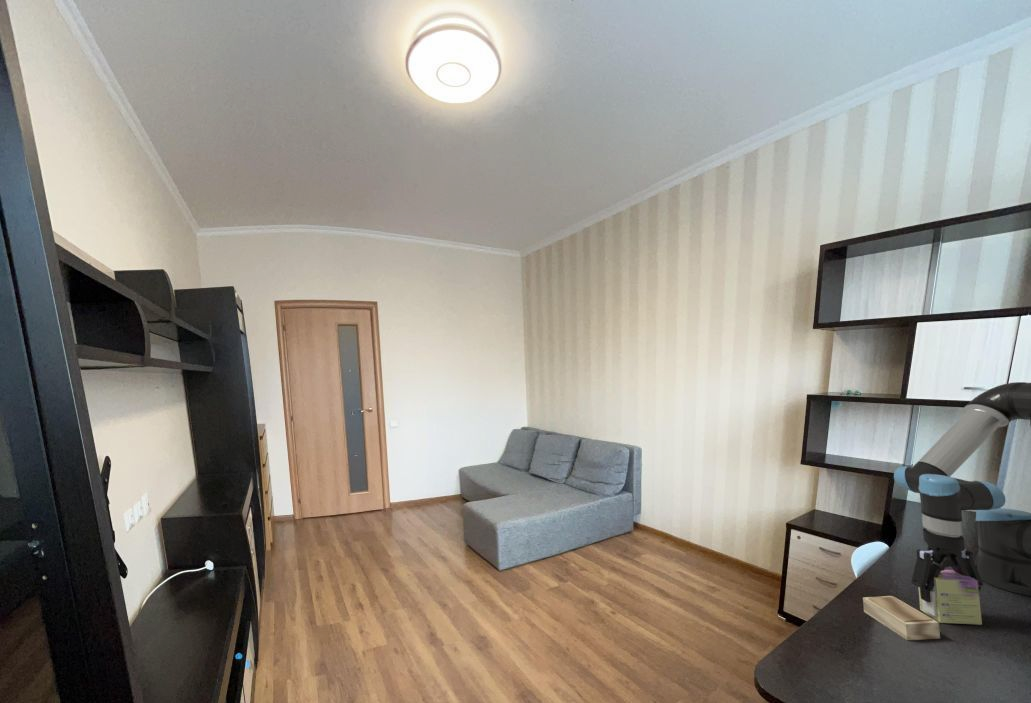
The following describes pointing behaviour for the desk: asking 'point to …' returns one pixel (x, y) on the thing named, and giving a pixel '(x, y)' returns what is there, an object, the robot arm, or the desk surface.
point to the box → (955, 599)
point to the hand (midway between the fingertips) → (949, 611)
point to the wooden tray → (901, 618)
